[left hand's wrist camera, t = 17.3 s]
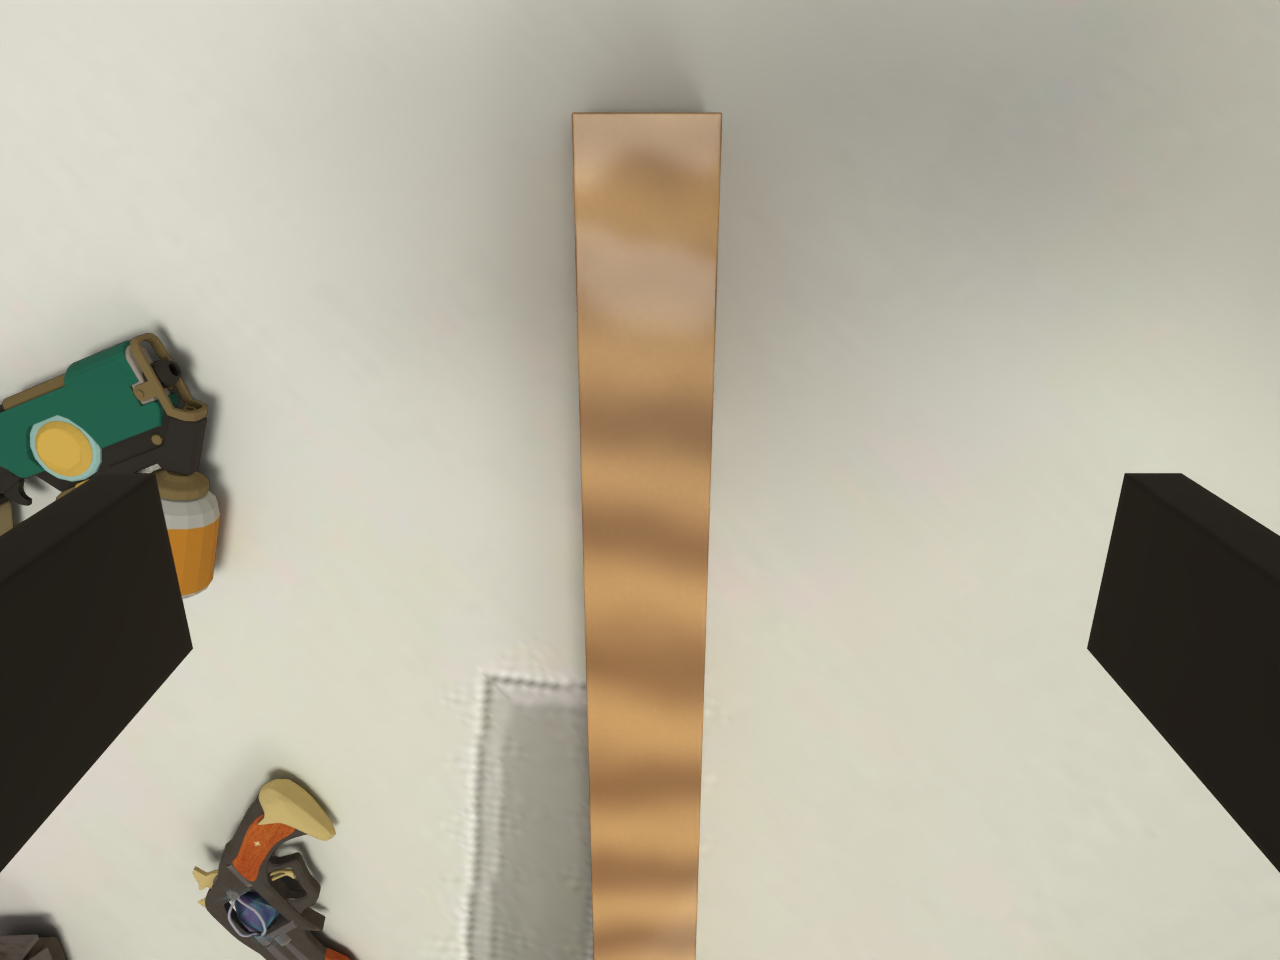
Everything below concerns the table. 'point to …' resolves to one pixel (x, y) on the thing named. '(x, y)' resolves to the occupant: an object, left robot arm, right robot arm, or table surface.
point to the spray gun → (117, 444)
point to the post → (645, 509)
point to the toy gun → (271, 877)
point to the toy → (30, 948)
